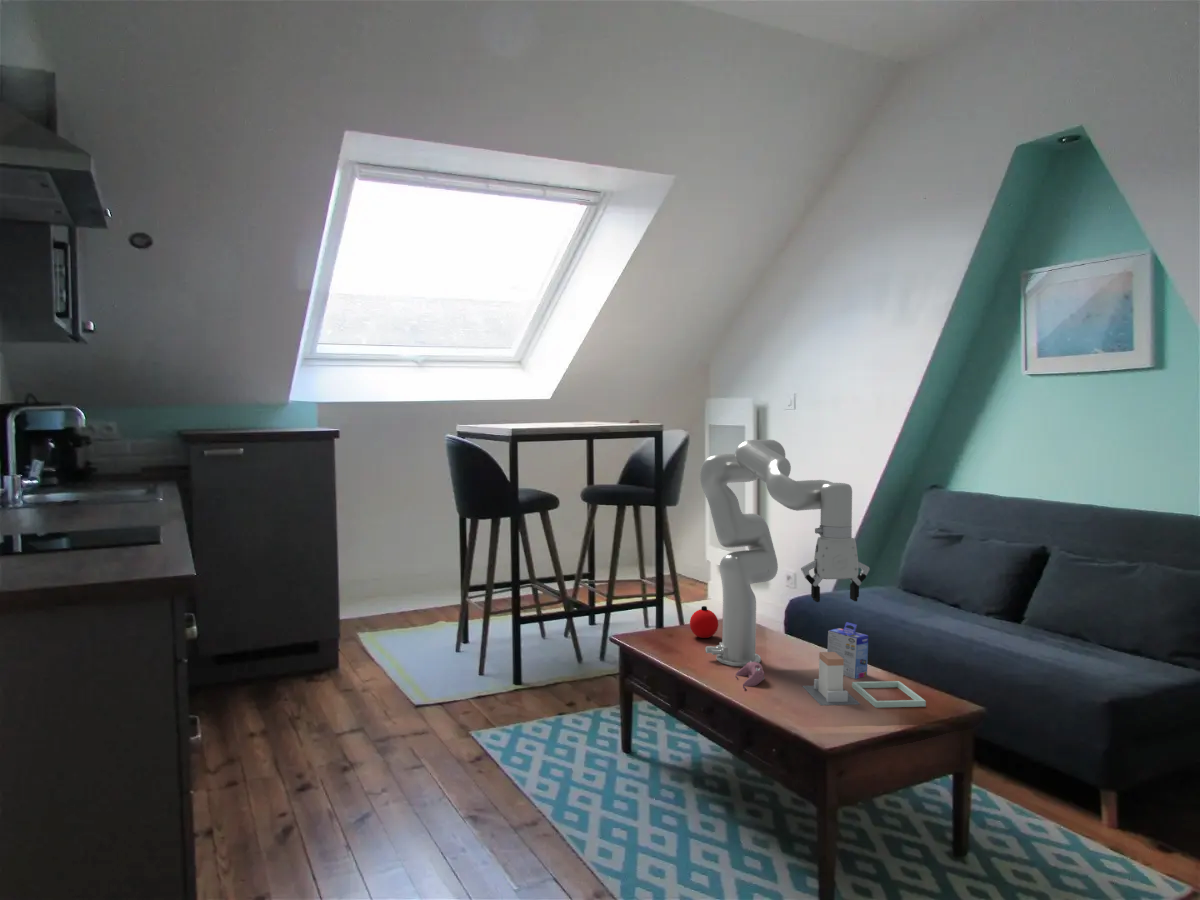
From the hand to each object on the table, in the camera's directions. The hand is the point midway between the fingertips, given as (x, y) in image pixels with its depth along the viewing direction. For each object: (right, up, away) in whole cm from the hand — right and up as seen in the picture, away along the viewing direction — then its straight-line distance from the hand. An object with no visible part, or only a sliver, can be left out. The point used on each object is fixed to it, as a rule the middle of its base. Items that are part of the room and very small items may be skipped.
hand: (834, 600), depth 210 cm
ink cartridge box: (+9, -24, +19) cm, 32 cm away
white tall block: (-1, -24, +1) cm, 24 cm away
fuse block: (-1, -25, +1) cm, 25 cm away
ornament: (-26, -22, +56) cm, 65 cm away
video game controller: (-19, -25, +12) cm, 33 cm away
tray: (+13, -25, 0) cm, 28 cm away
